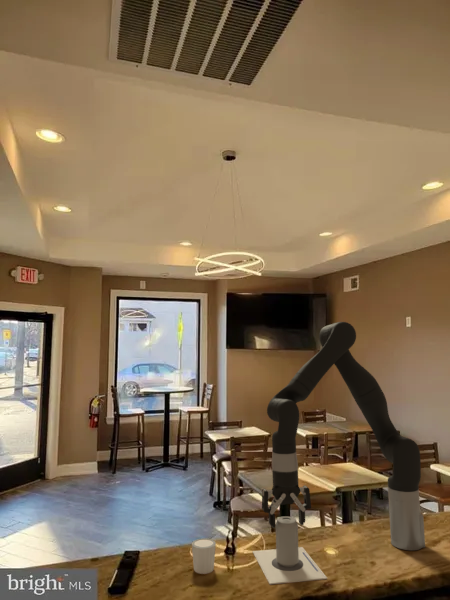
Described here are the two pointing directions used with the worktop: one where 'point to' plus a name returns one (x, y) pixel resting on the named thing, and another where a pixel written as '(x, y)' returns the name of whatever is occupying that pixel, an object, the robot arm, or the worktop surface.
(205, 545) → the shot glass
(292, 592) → the worktop surface
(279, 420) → the robot arm
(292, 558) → the beverage can
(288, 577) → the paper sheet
